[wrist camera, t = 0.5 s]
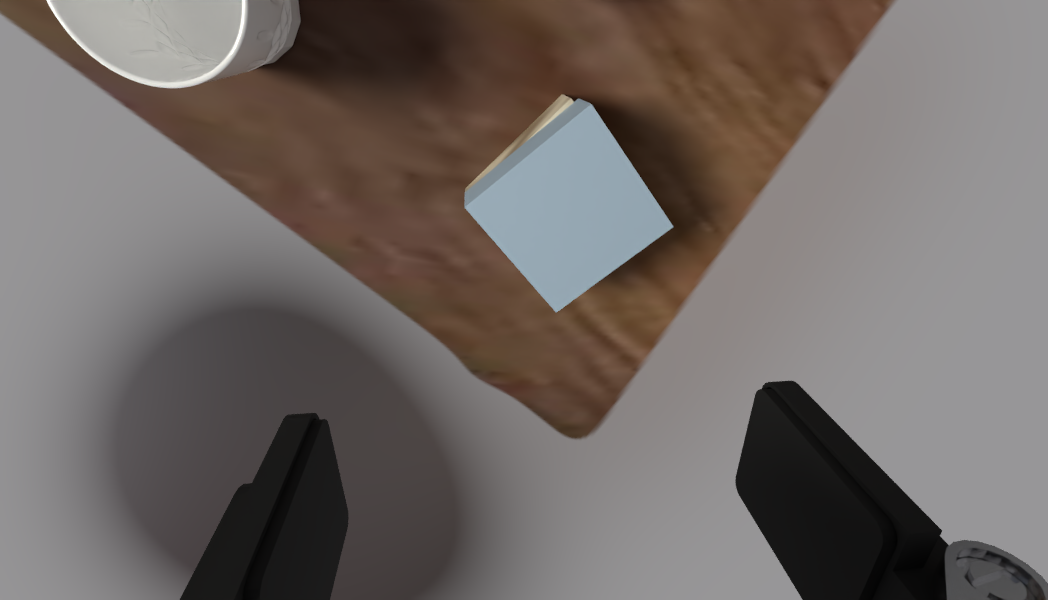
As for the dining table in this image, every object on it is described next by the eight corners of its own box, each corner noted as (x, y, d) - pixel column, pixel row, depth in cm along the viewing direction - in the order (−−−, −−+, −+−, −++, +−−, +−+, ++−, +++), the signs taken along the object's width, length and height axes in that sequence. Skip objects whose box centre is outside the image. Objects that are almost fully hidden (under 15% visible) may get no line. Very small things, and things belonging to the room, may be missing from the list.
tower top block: (578, 98, 31) (591, 103, 28) (654, 210, 34) (673, 226, 31) (464, 192, 33) (464, 207, 30) (548, 289, 36) (556, 312, 33)
